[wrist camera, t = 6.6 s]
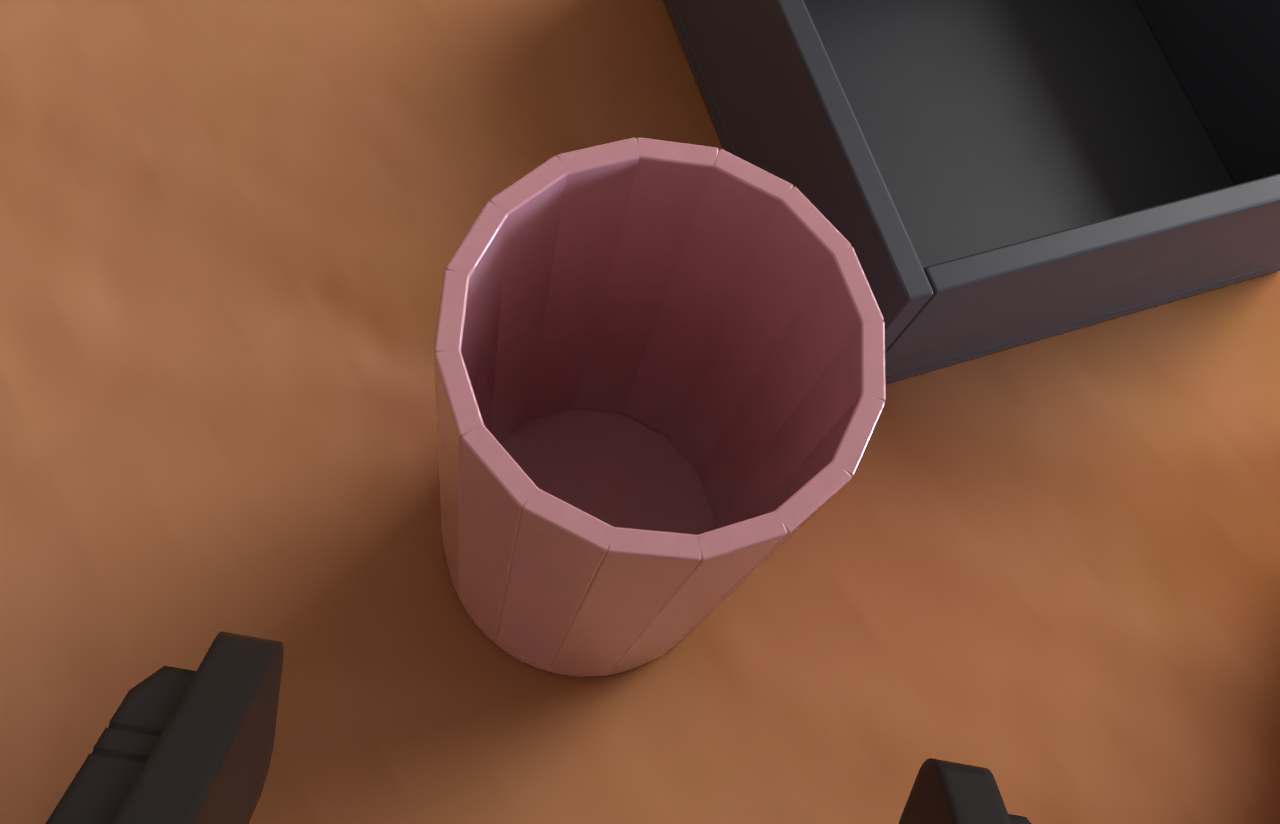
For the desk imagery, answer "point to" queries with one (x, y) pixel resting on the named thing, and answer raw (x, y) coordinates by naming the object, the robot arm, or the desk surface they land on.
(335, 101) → the desk surface
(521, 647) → the cup
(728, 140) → the tub
